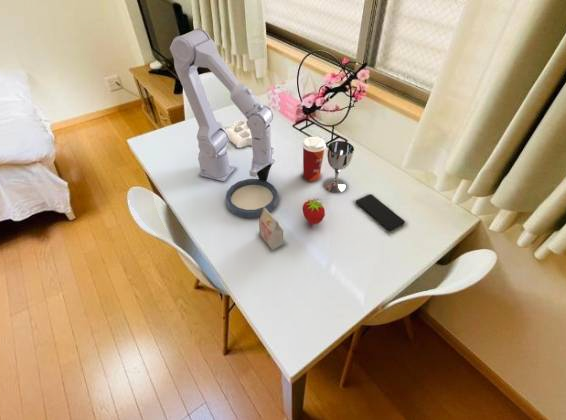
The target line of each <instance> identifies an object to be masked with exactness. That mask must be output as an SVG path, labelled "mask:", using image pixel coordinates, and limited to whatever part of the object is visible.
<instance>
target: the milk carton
mask: <svg viewBox="0 0 566 420" xmlns="http://www.w3.org/2000/svg"><path fill="white" fill-rule="evenodd" d="M258 228H259V236H260V237H261V238H262V239H263V241H264V242H265V243H266V245H267V246H268V248H270V250H271V251H274V250H276V249H277V248H280V247H282V246H283V245H284V229H283V228H282V227H281V226H280V224H279V222H278V221H277V220H276V218H275V217H274V216H273V215H272V213H271V212H270V213H269V212H268V210H267V209H266V208H264V207H263V211H262V214H261V216H260V217H259V219H258Z"/></svg>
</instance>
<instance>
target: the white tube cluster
mask: <svg viewBox="0 0 566 420" xmlns="http://www.w3.org/2000/svg"><path fill="white" fill-rule="evenodd" d="M246 122H247V121H246V120H245V119H239V120H238V119H237V120H235V121H234V122H233V123H232V126H230V127H228V128H226V129H225V131H226V132H227V133H228V135H229V142H231V143H232V144H233V145H234V146H235V147H236V148H239V149H240V148H244V147H247V146H251V147H252V137H251V131H250V129H249V128H248V126H247V124H246Z"/></svg>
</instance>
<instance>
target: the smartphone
mask: <svg viewBox="0 0 566 420" xmlns="http://www.w3.org/2000/svg"><path fill="white" fill-rule="evenodd" d="M355 204H357V206H358V207H360V208H361V209H362V210H363V211H364V212H365V213H367V214H368V215H369V216H370V217H371V218H372V219H374V220H375V221H376V222H377V223H378V224H379V225H380V226H382V227H383V228H384V229H385V230H386V231H388V232H391V231H393V230H395V229H397V228H398V227H400V226H403V225H404V224H405V222H406V221H405V220H404V219H403V218H402V217H400V216H399V215H398V214H397V213H395V212H394V211H393V210H392V209H390V208H389V207H388V206H387V205H386V204H384V203H383V202H382V201H381V200H379V199H378V198H377V197H375V196H374V195H373V194H367V195H365V196H363V197H360V198H358V199H357V200H355Z"/></svg>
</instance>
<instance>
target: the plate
mask: <svg viewBox="0 0 566 420" xmlns="http://www.w3.org/2000/svg"><path fill="white" fill-rule="evenodd" d="M225 195H226V196H225V202H226V204H227V208H228V210H229V211H230V212H231V213H232V214H233V215H235V216H237V217H240V218H243V219H258V218H259V219H260V216H261V214H262V211H263V207H264V208H266V209H267V210H268V212H269V213H270V214H271V212H273V211H274V210H275V208H276V207H277V205H278V190H277V188H276V187H275V185H274V184H272V183H271V182H269V181H268V180H267V181H265V180H260V179H259V178H246V179H243V180H239V181H237V182H235V183H234V184H231V186H230V187H229V188H228V190H227V191H226V194H225Z"/></svg>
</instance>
